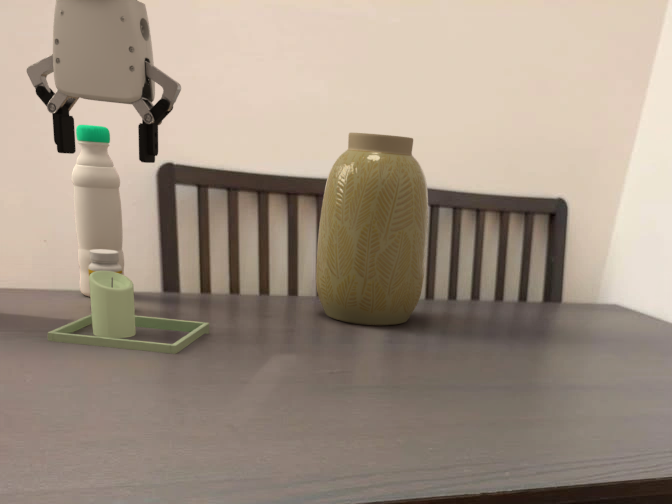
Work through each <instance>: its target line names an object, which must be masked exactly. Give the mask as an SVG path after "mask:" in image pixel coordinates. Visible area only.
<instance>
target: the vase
mask: <svg viewBox="0 0 672 504" xmlns="http://www.w3.org/2000/svg"><path fill="white" fill-rule="evenodd" d="M347 139H348V141H347V149H346V150H345V151H343V152H342V153H341V154H340V155H339V156H338V157H337V158H336V159H335V161H334V163H333V164H332V166H331V168H330V170H329V173H328V175H327V179H326V183H325V187H324V191H323V197H322V201H321V202H322V203H321V209H320V215H319V216H320V217H319V226H318V234H317V248H316V266H315V267H316V268H315V269H316V270H315V271H316V272H315V283H316V286H315V287H316V292H317V296H318V299H319V301H320V304H321V306H322V309H323V311H324V314H325V315H326V316H327V317H329V318H331V319H333V320H336V321H340V322H343V323H349V324H354V325H361V326H375V327H376V326H380V327H382V326H383V327H384V326H385V327H386V326H387V327H388V326H396V325H401V324H404V323H406V322H408V321H409V319H410V318H411V315H412V314H413V312H414V311H415V309H416V307H417V305H418V304H419V302H420V299H421V295H422V291H423V285H424V278H425V269H426V261H427V249H428V233H429V192H428V183H427V178H426V176H425V173H424V169H423V168H422V166H421V164H420V163H419V161H418V160H417V158H415V157H414V155H413V148H414V147H413V146H414V137H408V136H401V135H390V134H379V133H366V132H349V133H348V138H347Z"/></svg>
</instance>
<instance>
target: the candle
mask: <svg viewBox="0 0 672 504" xmlns="http://www.w3.org/2000/svg"><path fill="white" fill-rule="evenodd" d="M89 283H90V297H89V298H90V311H91V314H92V324H91V326H92V334H93V336H98V337H108V338H118V339H127V338H131V337H134V336H135V335H136V334H137V331H136V327H135V316H136V311H135V308H136V307H135V292H134V291H135V289H134V283H133V281H132V280H131V278H129V277H128V276H126V275H125V274H124V275H122V274H119V273H116V272H112V271H95V272H93V273H91V274H90V276H89Z"/></svg>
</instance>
